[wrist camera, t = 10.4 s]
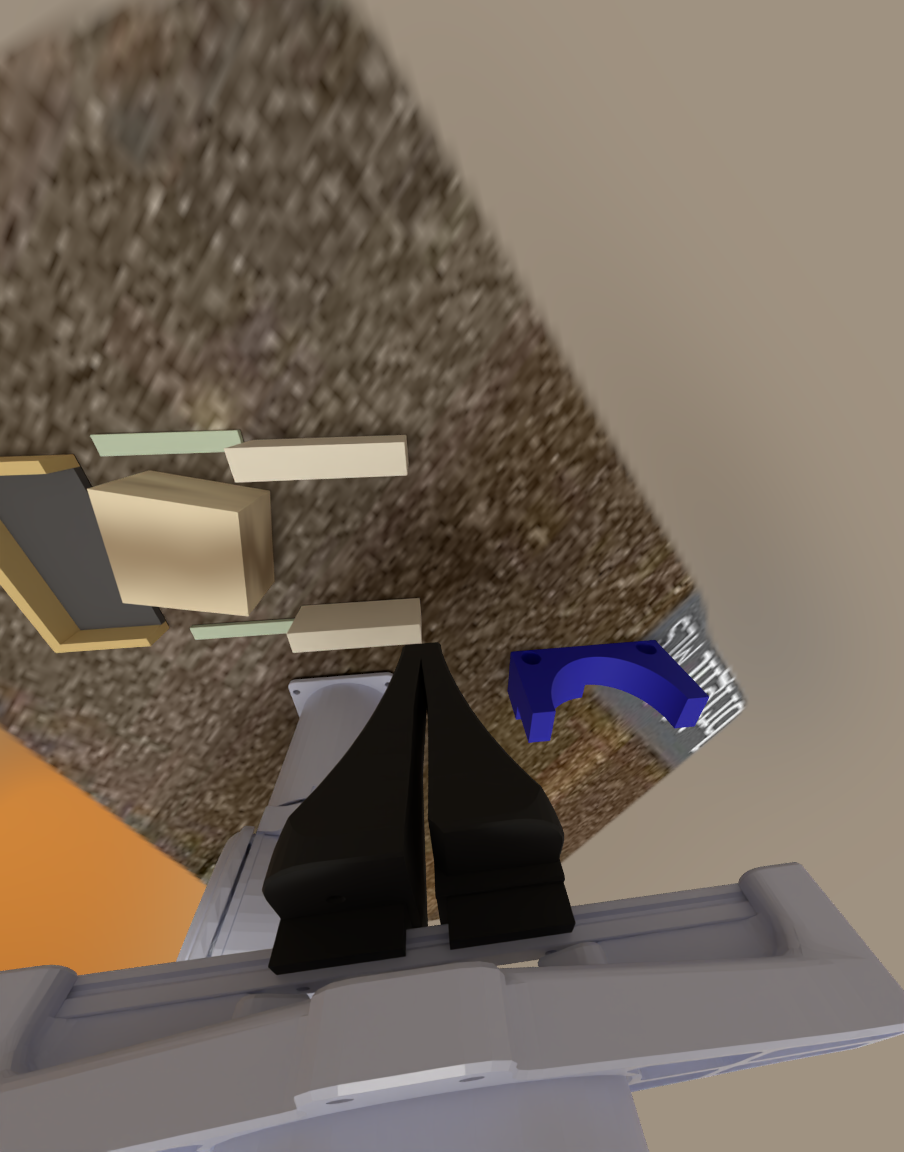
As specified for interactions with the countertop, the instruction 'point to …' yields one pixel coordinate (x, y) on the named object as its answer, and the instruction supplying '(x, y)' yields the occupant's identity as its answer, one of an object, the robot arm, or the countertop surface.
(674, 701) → the blue arch block
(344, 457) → the cream parallel guide rails
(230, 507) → the beech block
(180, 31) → the countertop surface
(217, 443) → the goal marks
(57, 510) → the open-sided tray
